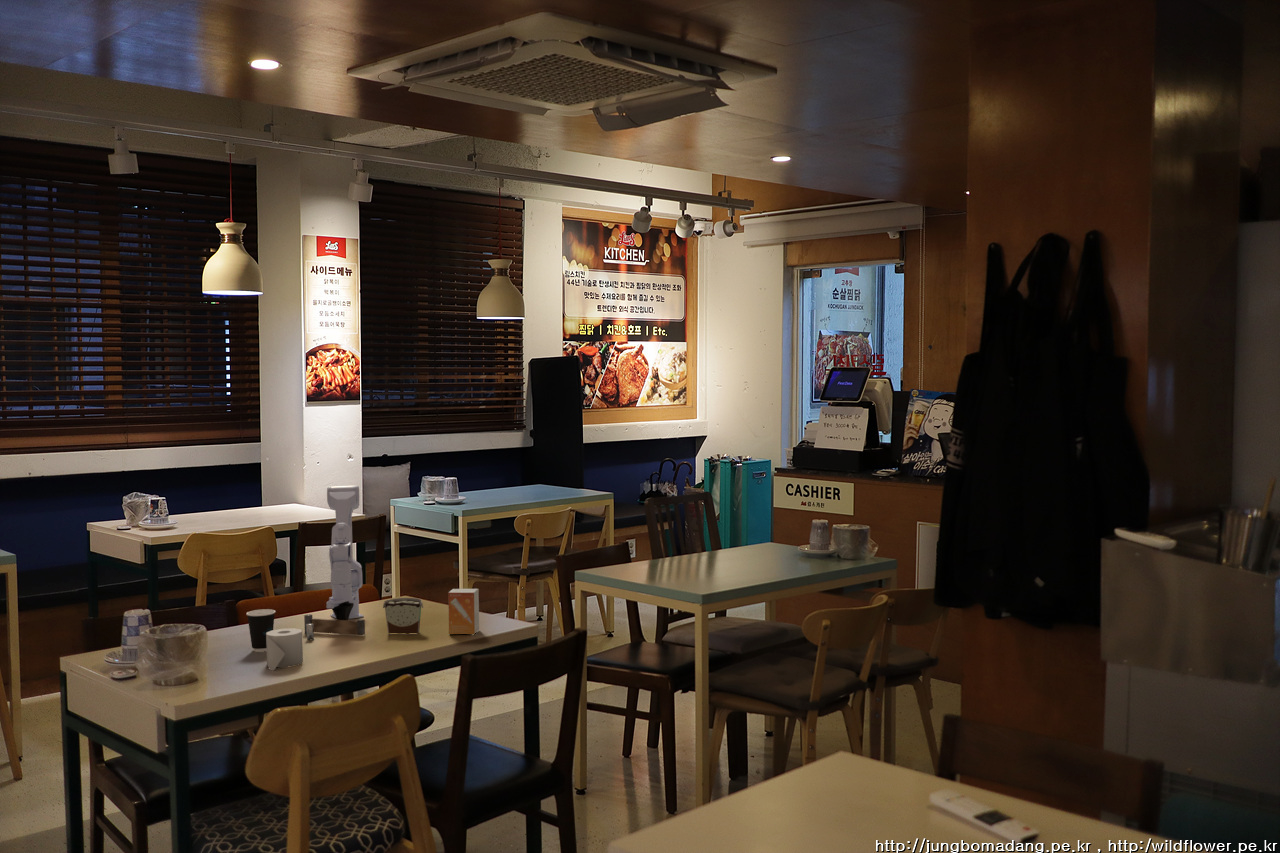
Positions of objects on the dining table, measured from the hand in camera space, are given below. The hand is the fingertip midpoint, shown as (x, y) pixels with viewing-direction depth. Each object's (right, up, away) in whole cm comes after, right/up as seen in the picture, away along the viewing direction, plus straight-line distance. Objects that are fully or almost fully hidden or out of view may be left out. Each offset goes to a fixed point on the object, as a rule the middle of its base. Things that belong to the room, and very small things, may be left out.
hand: (342, 627), depth 331 cm
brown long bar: (-1, -1, -2) cm, 2 cm away
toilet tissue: (-6, -4, -37) cm, 37 cm away
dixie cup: (-18, -3, -19) cm, 27 cm away
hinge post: (-11, -2, +2) cm, 11 cm away
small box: (+37, -2, -2) cm, 37 cm away
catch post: (-8, -2, -7) cm, 11 cm away
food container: (+19, -2, +1) cm, 19 cm away
